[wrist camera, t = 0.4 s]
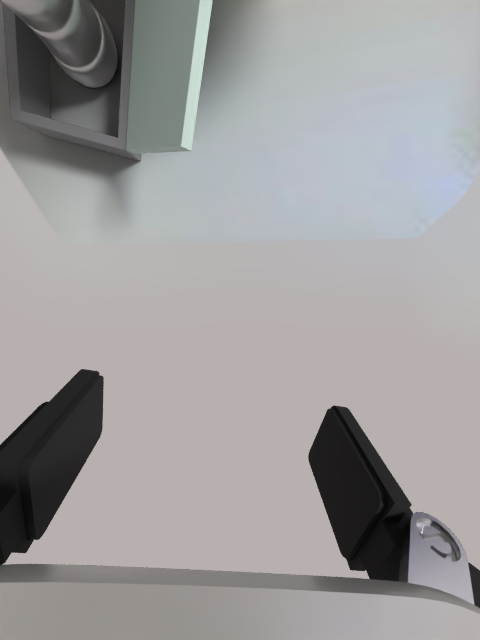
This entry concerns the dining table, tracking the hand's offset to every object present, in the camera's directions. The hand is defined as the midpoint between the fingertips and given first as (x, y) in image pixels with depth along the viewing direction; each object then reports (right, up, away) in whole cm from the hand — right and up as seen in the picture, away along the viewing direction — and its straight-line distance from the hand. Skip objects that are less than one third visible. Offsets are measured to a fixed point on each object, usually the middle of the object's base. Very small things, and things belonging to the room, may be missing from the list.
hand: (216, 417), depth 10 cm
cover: (-6, +29, +11) cm, 31 cm away
